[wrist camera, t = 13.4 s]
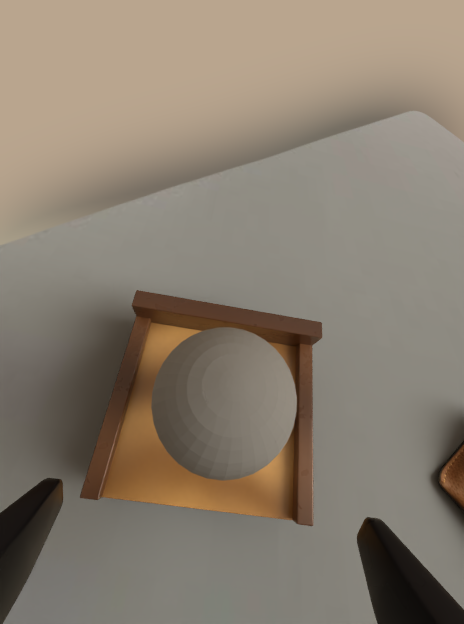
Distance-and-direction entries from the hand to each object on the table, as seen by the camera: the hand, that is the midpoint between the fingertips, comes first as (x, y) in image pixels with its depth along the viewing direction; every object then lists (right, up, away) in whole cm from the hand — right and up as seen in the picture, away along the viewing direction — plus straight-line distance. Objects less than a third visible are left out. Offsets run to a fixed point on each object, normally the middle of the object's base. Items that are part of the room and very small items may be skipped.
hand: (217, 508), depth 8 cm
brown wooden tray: (-1, -2, +13) cm, 13 cm away
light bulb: (-1, -1, +10) cm, 10 cm away
